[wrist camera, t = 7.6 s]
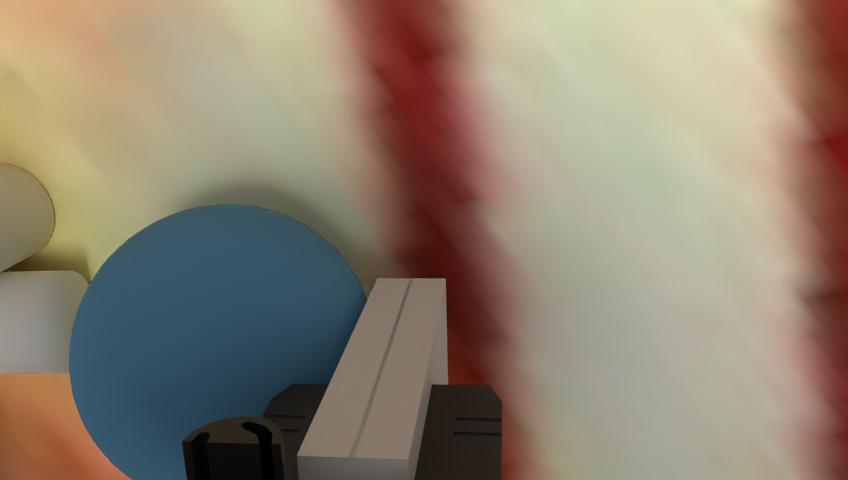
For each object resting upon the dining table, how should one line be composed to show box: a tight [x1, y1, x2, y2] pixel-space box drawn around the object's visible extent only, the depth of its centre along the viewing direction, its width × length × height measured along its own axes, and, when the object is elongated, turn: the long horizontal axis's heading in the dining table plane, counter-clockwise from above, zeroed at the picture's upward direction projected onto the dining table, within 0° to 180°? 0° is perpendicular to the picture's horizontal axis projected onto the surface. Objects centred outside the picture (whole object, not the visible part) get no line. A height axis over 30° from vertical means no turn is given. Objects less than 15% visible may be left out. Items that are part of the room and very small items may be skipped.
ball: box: [69, 204, 367, 480], centre depth 16 cm, size 6×6×6 cm
